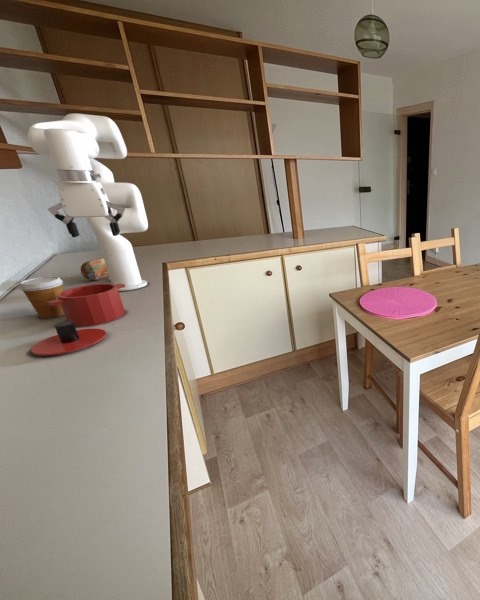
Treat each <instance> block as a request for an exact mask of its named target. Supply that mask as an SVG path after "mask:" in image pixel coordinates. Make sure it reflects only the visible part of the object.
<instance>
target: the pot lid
mask: <svg viewBox="0 0 480 600" xmlns="http://www.w3.org/2000/svg"><path fill="white" fill-rule="evenodd" d="M54 329H55V331H56V335H52V336H49V337H46V338H44V339H42V340H40V341H38V342H37V343H35V344H34V345H33V346H31V348H30V351H31V354H33V355H35V356H42V357H43V356H46V357H47V356H56V355H63V354H67V353H72V352H77V351H80V350H82V349H85V348H88V347H90V346H92V345H95V344H97V343H99V342H101V341H102V340H103V339H105V338H106V336H107V332H106V330H105V329H102V328H83V329H77V328H76V326H75V325H74V322H73V321H67V320H66V321H61V322H58V323H56V324H54Z"/></svg>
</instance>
